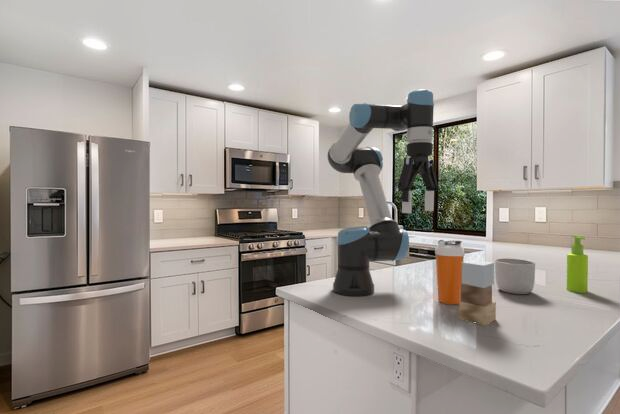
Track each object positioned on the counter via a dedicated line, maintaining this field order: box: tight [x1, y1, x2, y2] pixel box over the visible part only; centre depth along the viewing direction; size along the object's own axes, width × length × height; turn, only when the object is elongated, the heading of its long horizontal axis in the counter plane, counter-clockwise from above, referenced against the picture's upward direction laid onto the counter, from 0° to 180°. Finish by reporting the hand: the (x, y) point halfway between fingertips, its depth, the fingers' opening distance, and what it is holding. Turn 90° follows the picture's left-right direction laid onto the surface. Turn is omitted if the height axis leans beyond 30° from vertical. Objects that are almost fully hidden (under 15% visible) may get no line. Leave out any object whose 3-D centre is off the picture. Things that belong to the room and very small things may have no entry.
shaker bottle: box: [434, 239, 465, 305], centre depth 109 cm, size 9×9×20 cm
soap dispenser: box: [566, 235, 589, 294], centre depth 120 cm, size 6×7×20 cm
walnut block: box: [461, 284, 493, 306], centre depth 93 cm, size 6×6×5 cm
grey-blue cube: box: [462, 259, 495, 288], centre depth 92 cm, size 6×6×6 cm
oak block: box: [458, 300, 497, 326], centre depth 93 cm, size 7×7×5 cm
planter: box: [494, 257, 536, 295], centre depth 120 cm, size 12×12×11 cm
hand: (418, 212), depth 103 cm, fingers open, 13 cm apart
